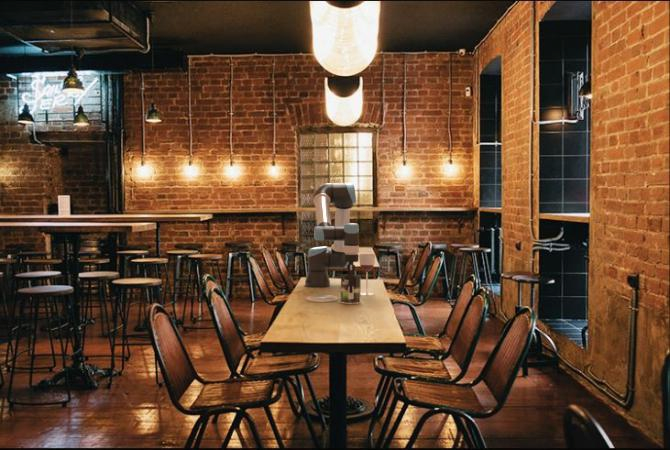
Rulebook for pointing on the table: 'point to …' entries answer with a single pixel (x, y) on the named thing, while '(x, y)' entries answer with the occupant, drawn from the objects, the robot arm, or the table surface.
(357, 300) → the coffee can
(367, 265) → the wineglass
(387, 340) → the table surface
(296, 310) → the table surface
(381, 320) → the table surface
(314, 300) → the plate
